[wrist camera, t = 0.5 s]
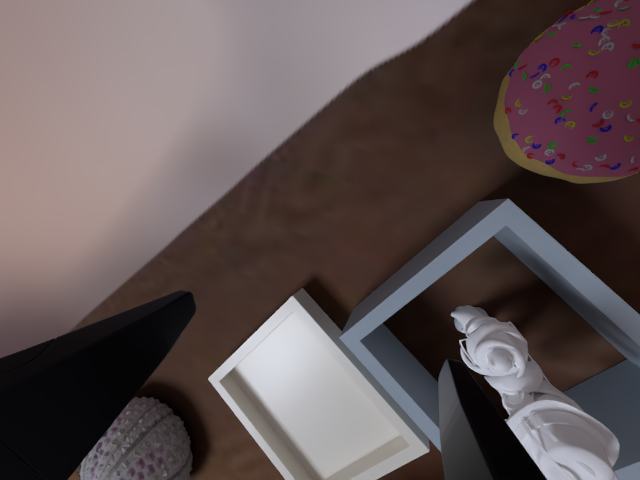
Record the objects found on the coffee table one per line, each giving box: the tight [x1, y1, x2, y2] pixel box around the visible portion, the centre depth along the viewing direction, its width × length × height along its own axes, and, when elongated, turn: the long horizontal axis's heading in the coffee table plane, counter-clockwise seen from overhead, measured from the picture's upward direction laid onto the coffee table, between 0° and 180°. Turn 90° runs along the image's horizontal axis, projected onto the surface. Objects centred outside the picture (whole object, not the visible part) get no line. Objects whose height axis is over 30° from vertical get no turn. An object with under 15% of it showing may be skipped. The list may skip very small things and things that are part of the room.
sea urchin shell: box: [80, 397, 193, 480], centre depth 29 cm, size 13×14×8 cm
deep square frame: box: [339, 199, 640, 480], centre depth 17 cm, size 15×13×6 cm
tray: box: [208, 288, 430, 480], centre depth 24 cm, size 16×14×2 cm
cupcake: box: [494, 0, 640, 184], centre depth 11 cm, size 9×8×12 cm
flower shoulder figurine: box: [451, 305, 619, 480], centre depth 14 cm, size 9×4×12 cm, turn 34°
